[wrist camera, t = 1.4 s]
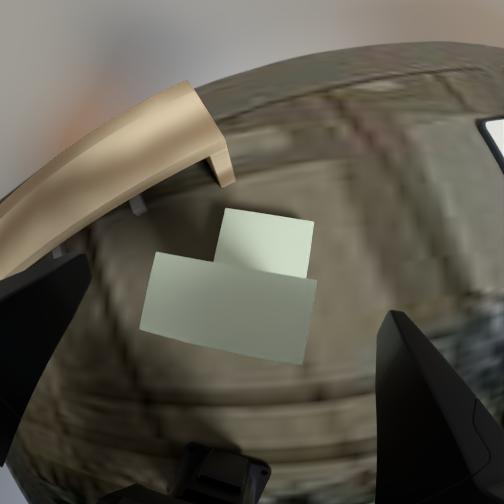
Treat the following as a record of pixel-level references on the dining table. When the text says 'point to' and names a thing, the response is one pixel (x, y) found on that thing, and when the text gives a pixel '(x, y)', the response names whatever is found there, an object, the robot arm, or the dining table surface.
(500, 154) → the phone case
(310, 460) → the dining table surface
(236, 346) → the sage green flanged block
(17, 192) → the beige u-shaped channel
